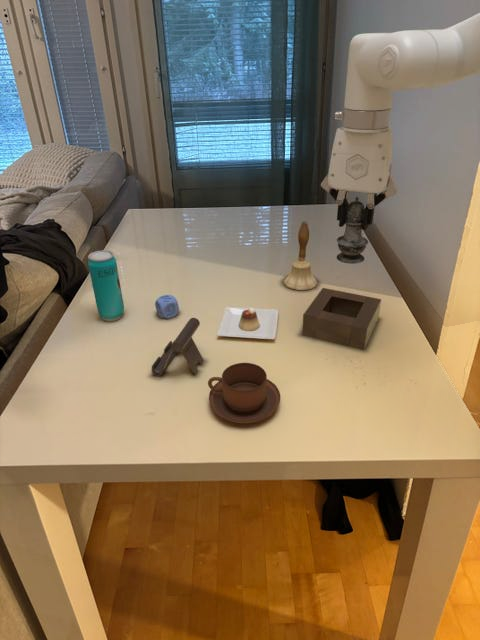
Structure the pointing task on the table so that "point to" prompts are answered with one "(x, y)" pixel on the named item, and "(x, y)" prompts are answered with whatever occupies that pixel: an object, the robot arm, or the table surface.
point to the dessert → (249, 323)
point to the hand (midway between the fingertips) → (354, 225)
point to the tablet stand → (181, 349)
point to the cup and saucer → (243, 394)
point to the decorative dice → (167, 306)
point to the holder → (341, 318)
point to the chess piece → (352, 235)
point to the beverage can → (106, 285)
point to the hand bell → (301, 265)
